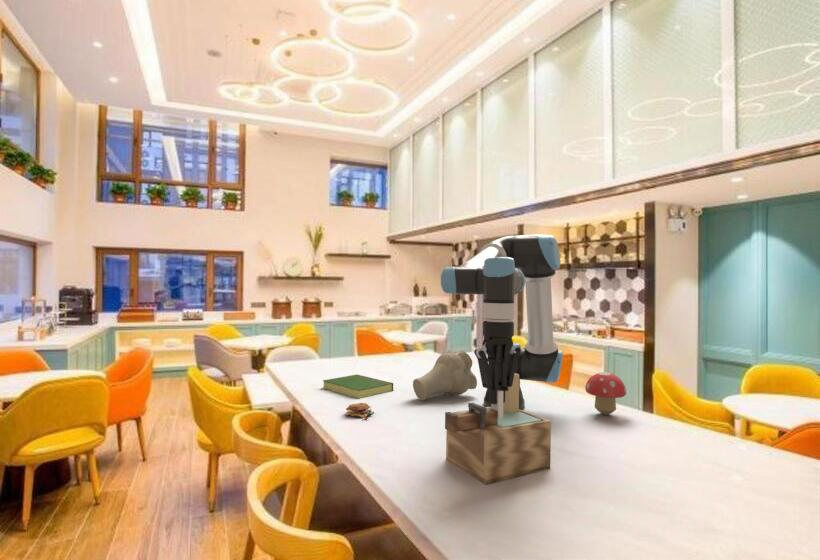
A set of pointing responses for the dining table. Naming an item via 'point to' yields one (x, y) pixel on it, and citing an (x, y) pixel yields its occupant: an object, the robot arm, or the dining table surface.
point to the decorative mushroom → (605, 391)
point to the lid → (514, 408)
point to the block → (469, 420)
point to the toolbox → (500, 448)
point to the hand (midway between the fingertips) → (497, 416)
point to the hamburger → (359, 410)
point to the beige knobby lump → (447, 376)
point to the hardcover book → (358, 385)
